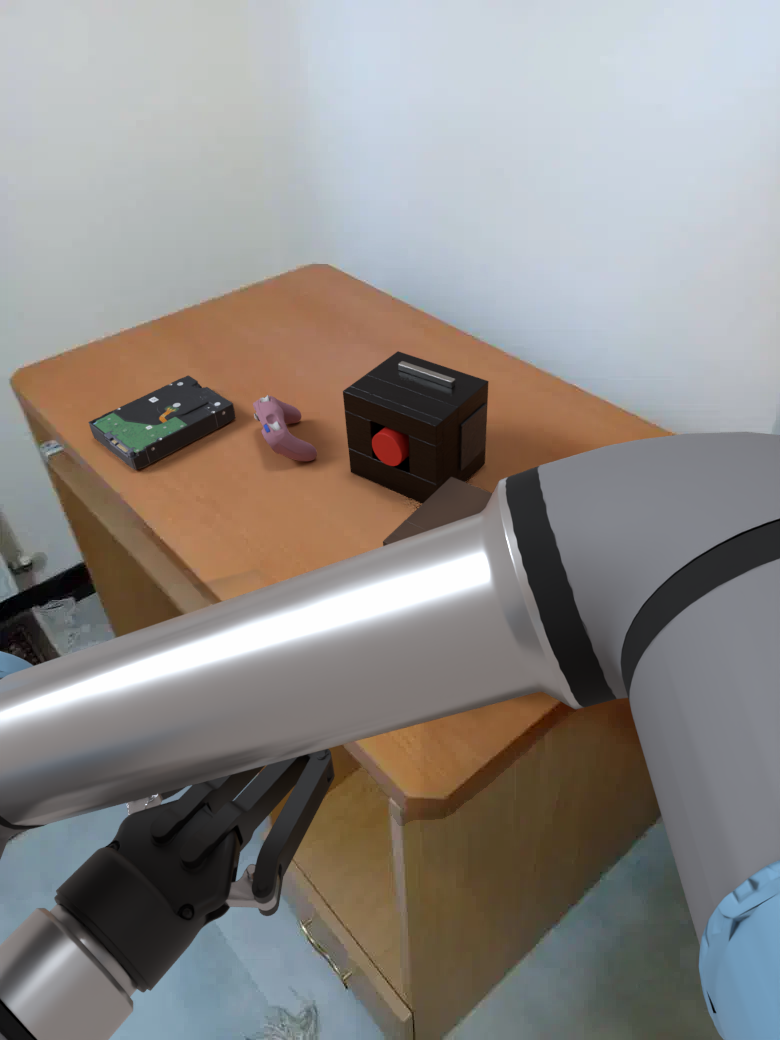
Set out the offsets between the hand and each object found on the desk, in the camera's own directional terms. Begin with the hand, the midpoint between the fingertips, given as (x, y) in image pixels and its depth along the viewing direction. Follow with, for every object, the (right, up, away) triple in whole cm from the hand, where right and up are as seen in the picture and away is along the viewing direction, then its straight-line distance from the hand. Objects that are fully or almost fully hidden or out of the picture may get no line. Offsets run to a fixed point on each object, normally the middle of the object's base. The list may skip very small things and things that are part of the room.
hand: (360, 664), depth 57 cm
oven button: (+3, +17, +29) cm, 34 cm away
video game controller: (-11, +19, +39) cm, 45 cm away
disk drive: (-26, +22, +43) cm, 55 cm away
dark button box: (+5, +16, +34) cm, 39 cm away
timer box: (+9, 0, +16) cm, 18 cm away
